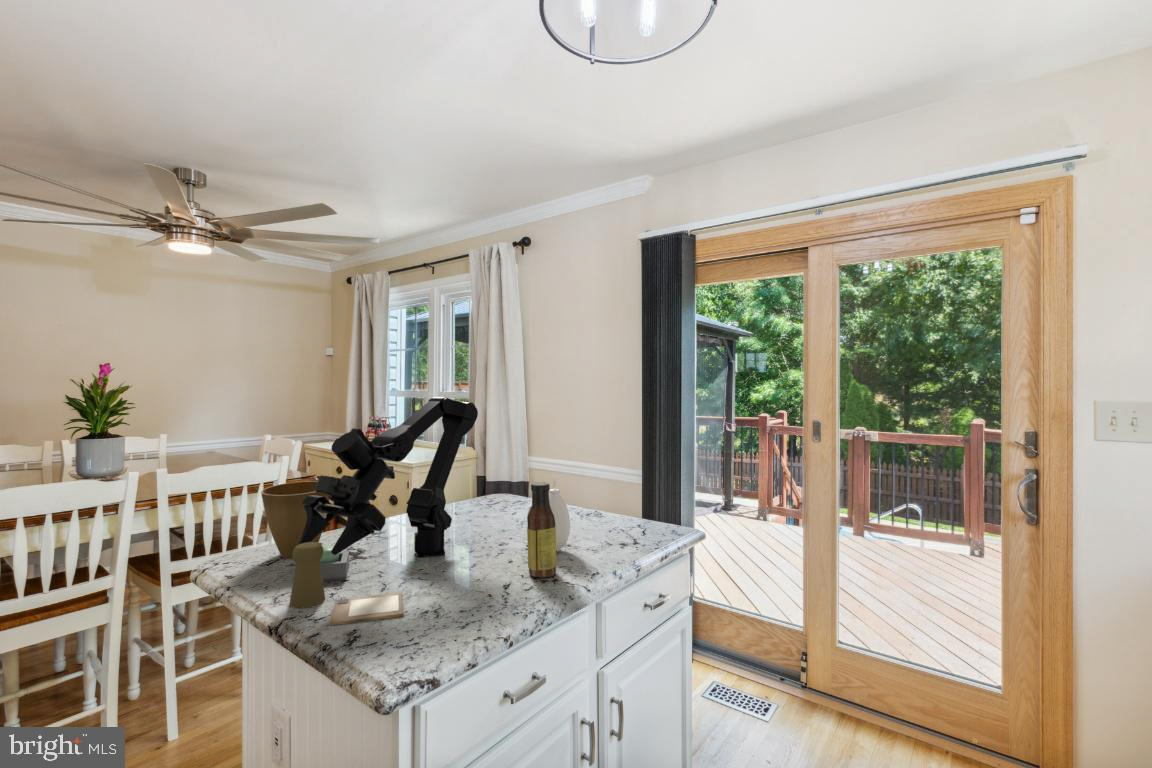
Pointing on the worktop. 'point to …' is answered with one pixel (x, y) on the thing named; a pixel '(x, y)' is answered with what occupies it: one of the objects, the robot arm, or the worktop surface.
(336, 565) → the button housing
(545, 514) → the sauce bottle
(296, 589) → the cork
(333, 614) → the tan rectangular board
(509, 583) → the worktop surface
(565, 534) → the white vase
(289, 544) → the plant pot
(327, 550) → the button
